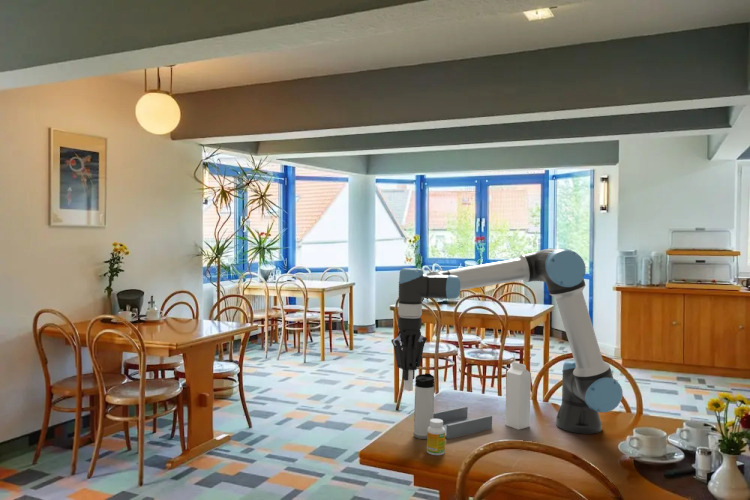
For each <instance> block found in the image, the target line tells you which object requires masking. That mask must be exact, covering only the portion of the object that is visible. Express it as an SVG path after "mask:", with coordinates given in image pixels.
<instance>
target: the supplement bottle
mask: <svg viewBox="0 0 750 500" xmlns="http://www.w3.org/2000/svg"><path fill="white" fill-rule="evenodd" d="M442 426H443V420H441V419H431V420H430V427H428V430H427V439H426V452H427V453H428V454H429V455H432V456H442V455H444V454H445V450H446V447H445V446H446V438H445V429H444V428H443V427H442Z"/></svg>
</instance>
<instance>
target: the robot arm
mask: <svg viewBox="0 0 750 500" xmlns="http://www.w3.org/2000/svg"><path fill="white" fill-rule="evenodd" d="M586 268H587V267H586V263H585V260H584V259H583V258H582V256H581V255H580V254H579V253H577V252H575V251H573V250H571V249H568V248H552V247H551V248H545V249H541V250H537V251H534V252H531V253H525V254H520V255H519V257H518V258H514V259H513V258H512V259H508V260H502V261H495V262H489V263H483V264H477V265H471V266H470V265H469V266H465V267H459V268H454V269H448V270H442V271H431V272H428V273H426V274H424V270H423V269H422V268H415V267H414V268H413V267H405V268H404V267H403V268H401V269H400V271H399V278H398V308H397V309H398V310H397V311H398V312H397V313H398V318H397V329H398V332H397V336H396V338H391V344H392V346H393V349H394V350H393V351H394V355H395V356H394V357H395V361H396V366H397V368H398V369H401V370H402V380H403V390H405V391H408V392H411V391H414V387H413V386H414V385H413V384H414V380H415V378H416V376H415V372H416V371H417V369H418V368H420V367H421V362H422V358H423V353H424V348H425V344H426V342H427V341H428V340H427V339H428V338H427V337H426V336H423V335H422V332H421V329H422V320H423V319H422V317H421V316H422V315H423V299H446V300H450V299H451V300H453V299H458V298H459V296H460V295H461V291H463V290H464V291H465V290H470V289H476V288H483V287H487V286H494V285H500V284H508V283H512V282H517V281H518V282H519V281H523V282H525V283H530V282H544V283H546V284H545V285H546V287H547V288H546V289H547V290H548V294H549V295H550V296H552V297H554V298H555V302H556V305H557V308H558V310H559V314H560V317H561V321H562V324H563V327H564V331H565V334H566V338H567V340H568V345H569V349H570V351H571V354H572V357H573V360H568V361H567V360H566V361H565V362H564V363H563V366H562V371H561V372H562V377H561V378H562V384H561V387H562V388H561V404H560V407H559V408H558V412H557V414H556V419H555V425H556V426H557V427H558V428H559V429H561V430H564V431H566V432H571V433H575V434H576V433H577V434H585V435H591V434H593V435H594V434H598V433H600V432H602V430H603V429H602V428H603V426H602V425H603V424H602V420H601V417H600V413H608V412H611V411H613V410H615V409H617V407H618V406H619V404H620V403H621V402H622V400H623V399H622V398H623V394H624V393H623V388H622V386H621V384H620V382H619V381H618V380H616V379H615V378H614V375H613V372H612V369H611V366H610V364H609V363H608V362H606V361H604V359H603V356H602V352H601V350H600V347H599V343H598V340H597V335H596V332H595V330H594V327H593V323H592V319H591V316H590V313H589V310H588V305H587V303H586V299H585V296H584V292H583V291H584V289H585V288H586V282H585V278H584V277H585V276H586V272H587V270H586Z"/></svg>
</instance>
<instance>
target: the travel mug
mask: <svg viewBox="0 0 750 500" xmlns="http://www.w3.org/2000/svg"><path fill="white" fill-rule="evenodd" d="M414 380H415V382H414V410H413V411H414V412H413V413H414V414H413V415H414V417H413V421H414V422H413V436H414V438H417V439H419V440H427V430H428V427H430V420H431V419H433V416H434V413H435V412H434V408H435V405H434V403H435V376H434V375H432V373H421V374H418V375H417V374H416V376H415V378H414Z"/></svg>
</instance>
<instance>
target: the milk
mask: <svg viewBox="0 0 750 500" xmlns="http://www.w3.org/2000/svg"><path fill="white" fill-rule="evenodd" d="M531 382H532V373H531V372H530V370H528V369H527V366H526V364H523V363H519V362H516V361H512V362H511V366H510V367H509V369H508V370H507V371H506V381H505V385H506V386H505V411H504V412H505V416H504V417H505V418H504V425H505V426H506V427H510V428H513V429H515V430H522V429H526V428H529V427H530V421H531V420H530V418H531V417H530V416H531V414H530V413H531V389H532V387H531V386H532V385H531V384H532V383H531Z"/></svg>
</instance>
